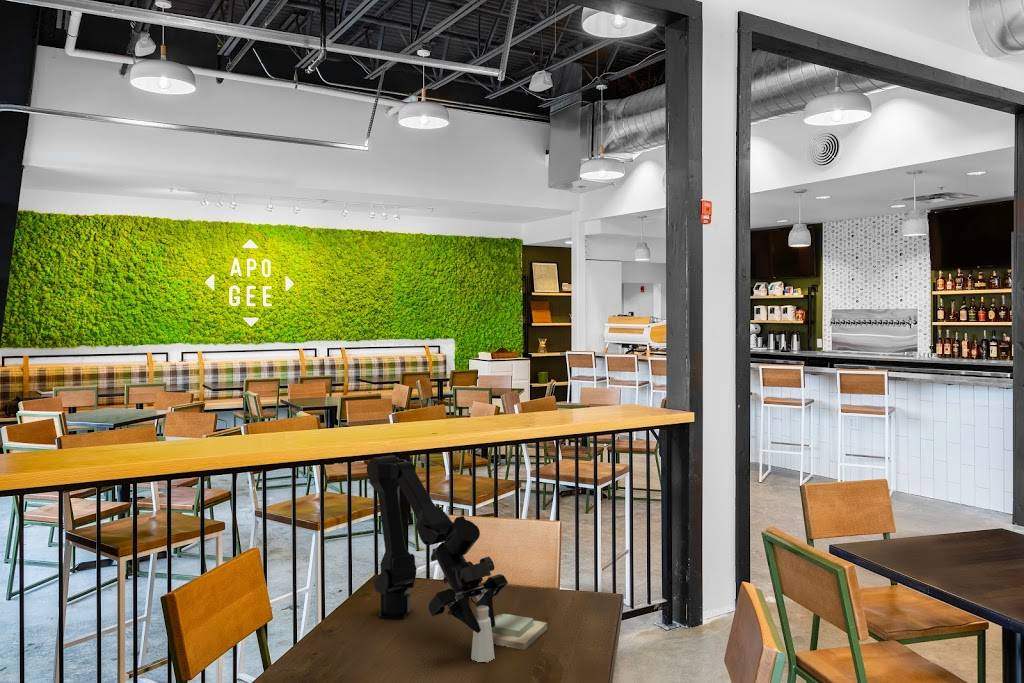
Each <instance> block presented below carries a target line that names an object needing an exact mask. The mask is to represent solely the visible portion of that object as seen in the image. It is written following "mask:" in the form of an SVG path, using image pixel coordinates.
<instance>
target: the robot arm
mask: <svg viewBox="0 0 1024 683" xmlns="http://www.w3.org/2000/svg"><path fill="white" fill-rule="evenodd" d="M366 474H367V476H368V480H369V484H370V486H371V487H372V488H373V489H374V490H375V491H376V493H377V495H378V496H377V497H378V504H379V505H378V506H379V511H380V513H379V514H380V520H381V526H382V527H381V529H382V534H383V543H384V548H385V549H384V553H383V557H382V559H381V562H380V573H379V575H378V576H377V578H376V579H375V580H374V582H373V585H374V591H375V592H377V593H379V594H380V613H379V615H378V618H382V619H383V618H384V619H398V620H400V619H401V620H403V619H405V617H406V616H407V615H408V614H409V613H410V611H411V609H412V608H411V594H410V593H409V589H413V588H415V587H414V585H415V581H416V577H417V571H418V569H417V565H416V556H415V555H414V554H413V553H410V552H409V551H408V549H407V548H406V544H405V537H404V529H403V528H404V527H403V523H402V513H401V507H400V500H399V492H398V490H399V488H400V489H401V491H402V493H403V495H404V496H405V498H406V500H407V503H408V504H409V505H410V507H411V509H412V511H413V514H414V515H415V517H416V522H415V523H416V524H415V528H416V530H417V533H418V536H419V539H420V541H421V542H422V544H424V545H427V546H431V545H432V546H433V545H437V544H439V545H438V546H437V547H435V548H432V549H431V550H432V553H431V555H430V561H431V562H436V561H437V563H438V564H439V567H440V568H441V571H442V573H443V575H444V577H443V579H442V581H443V583H444V584H448V585H449V587H450V588H448V589H444V590H442V591H438V592H437V593H436V594H435V595H434V596H433V598H432V600H430V601H429V603H428V611H429V612H430V614H431V616H432V617H436V616H438V615H441V614H444V613H445V610H446V606H449V608H448V612H447V613H446V614H447V615H448V616H453V617H454V618H456V619H457V620H459V621H461V622H462V623H463V624H465V625H466V626H467V627H468V628H469V629H471V630H474V631H475V632H477V633H479V632H480V631H481V629H480V627H479V624H478V622H477V620H476V615H475V614H474V612H473V610H472V607H471V605H470V600H469V598H470V599H471V598H472V599H473V598H474V597H475V599H476V600H477V602H476V604H475V606H476V607H477V606H481V605H485V606H488V607H489V610H488V617H490V620H491V627H492V628H493V627H495V618H494V617H495V614H494V604H493V602H494V601H493V598H496V597H498V595H500V593H501V592H503V590H504V588H506V586H507V585H508V584H509V581H508V580H507V578H506V577H505V575H504V574H500V573H499V574H495V575H492V573H491V572H493V571H495V564H494V561H493V560H492V558H491V556H486V557H482V558H480V559H479V562H478V563H474V564H473V562H472V561H467V560H466V558H465V555H466V554H467V553H468V552H469V551H470V550H471V549H472V547H473V546H474V545H475V544H476V542H477V541H478V540H479V538H480V536H481V532H480V529H479V527H478V526H477V525H476V524H475V523H474V522H473V521H471V520H469V519H466V518H465V516H464V515H463V516H462V515H461V516H456V517H455V519H454V521H452V519H451V518H450V517H449V516H448V515H447V513H446V512H445V510H443V509H441V508H439V507H437V506H436V505H435V503H434V502H433V500H432V498H431V497H430V494H429V493H428V491H427V489H426V488H425V485H424V484H423V483H422V481H421V479H420V478H419V476H418V473H417V472H416V467H415V464H414V463H413V462H412V461H407V459H402V458H401V459H400V458H398V457H397V456H396V455H387V456H386V455H385V456H380V457H379V456H378V457H372V458H371V459H370V460H369V462H368V464H367V465H366ZM485 577H487V579H486V580H485V581H484V578H485ZM483 581H484V583H482V582H483ZM480 583H482V584H481V585H479V584H480Z"/></svg>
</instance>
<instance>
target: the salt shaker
mask: <svg viewBox="0 0 1024 683" xmlns="http://www.w3.org/2000/svg"><path fill="white" fill-rule="evenodd" d="M488 610H489V607H488V606H485V605H481V606H476V607H475V618H476V620H477V622H478V624H479V627H480V629H481V631H480V632H479V633H477V632H475V631H474V630H473V629H472V630H473V632H472V641H471V644H472V645H471V653H470V654H471V655H470V658H471V659H472V660H471V661H473V660H475V661H477V662H476V663H478V662H486V663H490V662H491V660H492V661H494V660H495V659H496V658H495V648H494V644H493V638H492V628H491V620H490V617H488ZM493 659H494V660H493ZM475 661H474V662H475ZM489 661H490V662H489Z"/></svg>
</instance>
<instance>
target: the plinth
mask: <svg viewBox="0 0 1024 683" xmlns="http://www.w3.org/2000/svg"><path fill="white" fill-rule="evenodd" d="M494 618H495V627H493V628H492V627H491V628H492V638H493V645H494V644H496V645H495V646H499V645H500V647H504V646H506V647H505V648H510V647H511V648H510V649H515V648H516V649H515V650H522V651H526V650H527V649H528V648H529V647H530V646H531V645H533V643H534V642H535V641H537V639H538V638H539V637H541V636H542V635H543V634H544V633H545V632H546V631H547V630H548V622H547V621H546V622H544V621H540V620H534V618H533V617H526V616H520V615H515V614H514V615H513V614H510V613H509V614H508V613H502V614H497V615H496V616H494Z"/></svg>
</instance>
